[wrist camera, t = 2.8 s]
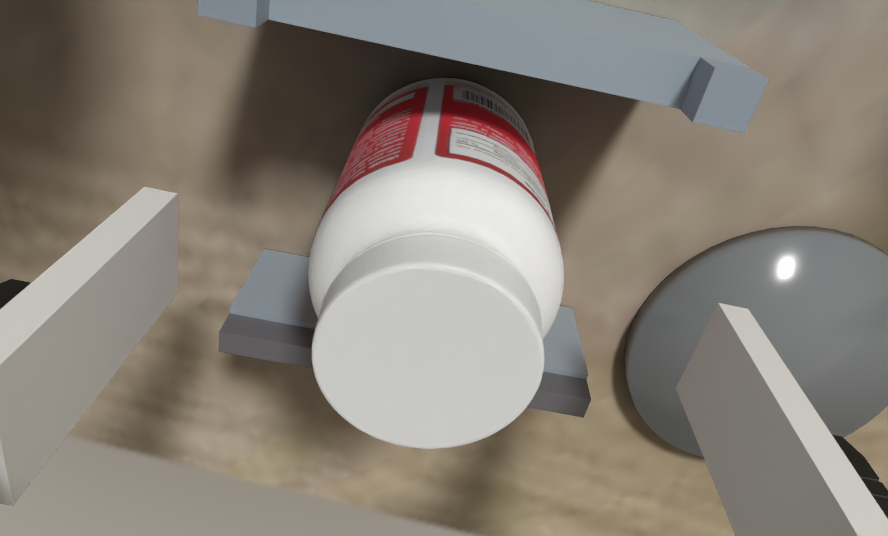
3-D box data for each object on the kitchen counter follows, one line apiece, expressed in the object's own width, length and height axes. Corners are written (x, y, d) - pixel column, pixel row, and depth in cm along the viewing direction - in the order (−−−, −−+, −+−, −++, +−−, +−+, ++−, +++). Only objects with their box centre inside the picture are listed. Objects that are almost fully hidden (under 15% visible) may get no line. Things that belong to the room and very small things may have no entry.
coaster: (588, 424, 28) (591, 438, 27) (686, 198, 23) (692, 208, 22) (825, 467, 29) (833, 481, 28) (975, 258, 23) (990, 270, 23)
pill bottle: (366, 243, 24) (296, 475, 14) (346, 76, 21) (241, 232, 11) (533, 239, 24) (575, 476, 14) (539, 70, 21) (597, 225, 11)
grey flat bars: (262, 275, 25) (195, 399, 19) (285, -68, 19) (198, -48, 13) (563, 332, 26) (590, 468, 20) (677, 21, 20) (768, 79, 14)
